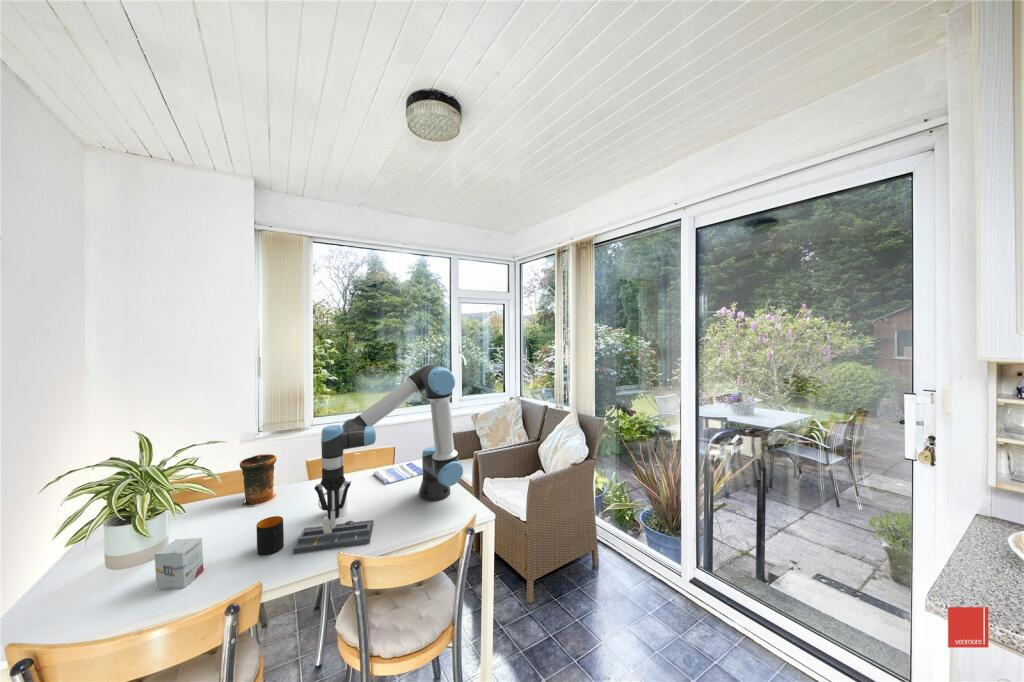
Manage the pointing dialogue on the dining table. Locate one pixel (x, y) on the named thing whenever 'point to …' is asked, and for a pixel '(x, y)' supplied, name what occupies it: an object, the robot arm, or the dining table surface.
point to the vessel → (258, 479)
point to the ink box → (178, 563)
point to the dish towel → (398, 473)
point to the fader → (327, 525)
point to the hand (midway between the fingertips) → (333, 526)
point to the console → (334, 537)
